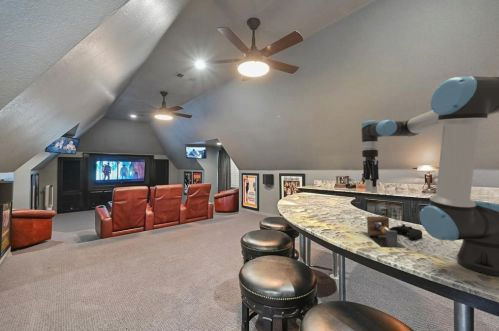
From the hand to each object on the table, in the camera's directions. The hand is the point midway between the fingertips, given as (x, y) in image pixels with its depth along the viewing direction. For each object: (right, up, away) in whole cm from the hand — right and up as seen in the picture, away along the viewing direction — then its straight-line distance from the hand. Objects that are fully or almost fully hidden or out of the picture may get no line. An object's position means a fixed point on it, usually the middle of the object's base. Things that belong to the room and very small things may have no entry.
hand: (370, 192), depth 119 cm
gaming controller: (+15, -22, -7) cm, 27 cm away
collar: (-1, -22, -8) cm, 23 cm away
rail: (-1, -22, -11) cm, 25 cm away
